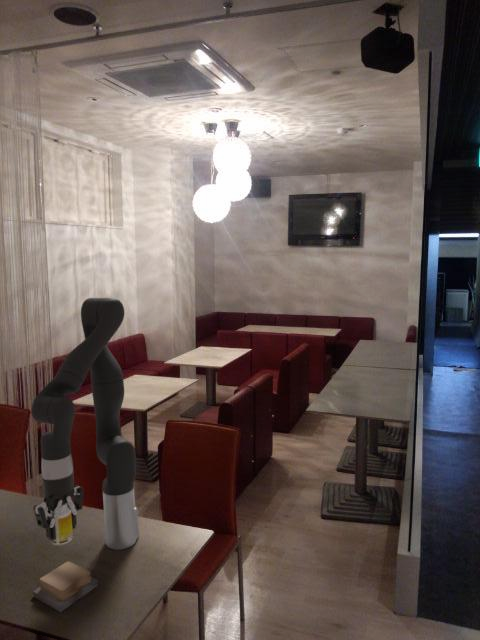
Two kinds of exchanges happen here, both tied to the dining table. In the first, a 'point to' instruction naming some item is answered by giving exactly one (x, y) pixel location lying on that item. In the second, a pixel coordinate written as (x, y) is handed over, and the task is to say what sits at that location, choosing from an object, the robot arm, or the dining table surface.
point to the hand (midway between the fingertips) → (62, 533)
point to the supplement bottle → (63, 526)
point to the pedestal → (64, 586)
